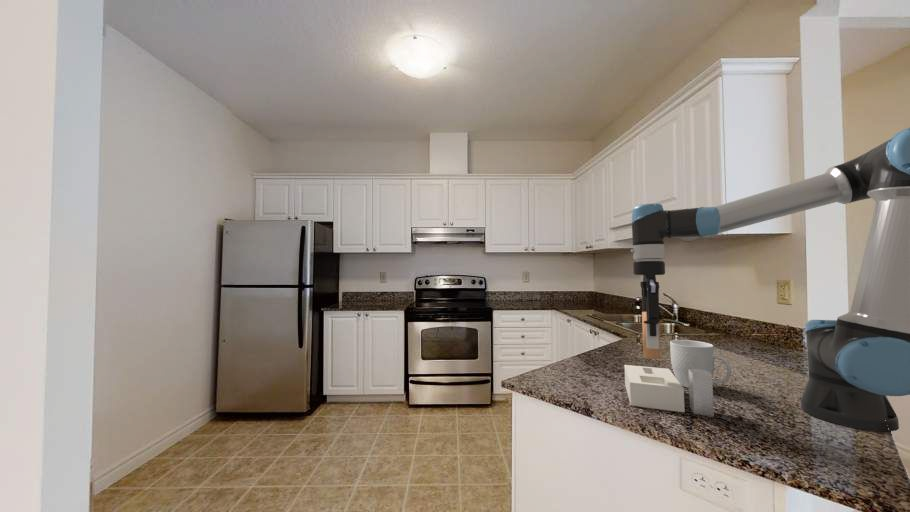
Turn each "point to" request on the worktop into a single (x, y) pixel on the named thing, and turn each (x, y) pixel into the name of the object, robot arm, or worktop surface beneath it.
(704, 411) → the square bit
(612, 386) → the worktop surface
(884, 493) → the worktop surface
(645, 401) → the socket block
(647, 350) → the dowel
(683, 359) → the mug
